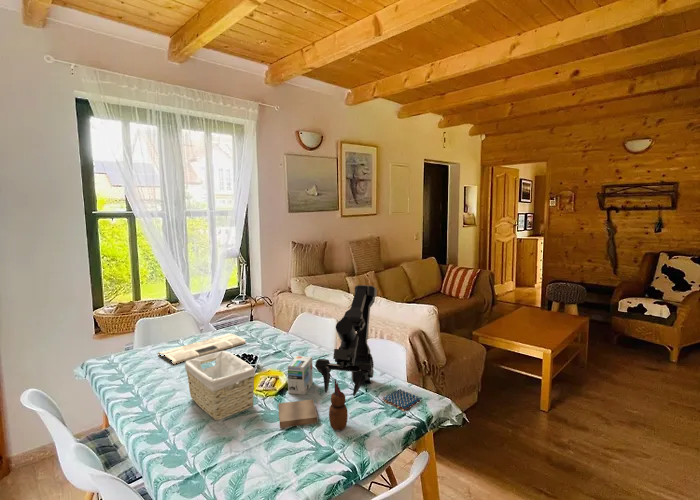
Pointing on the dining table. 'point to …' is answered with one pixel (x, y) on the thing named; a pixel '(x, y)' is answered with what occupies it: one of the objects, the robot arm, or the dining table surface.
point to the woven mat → (401, 399)
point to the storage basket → (221, 384)
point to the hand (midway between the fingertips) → (339, 394)
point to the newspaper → (202, 348)
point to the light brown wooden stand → (297, 413)
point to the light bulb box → (300, 375)
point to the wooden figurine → (338, 410)
